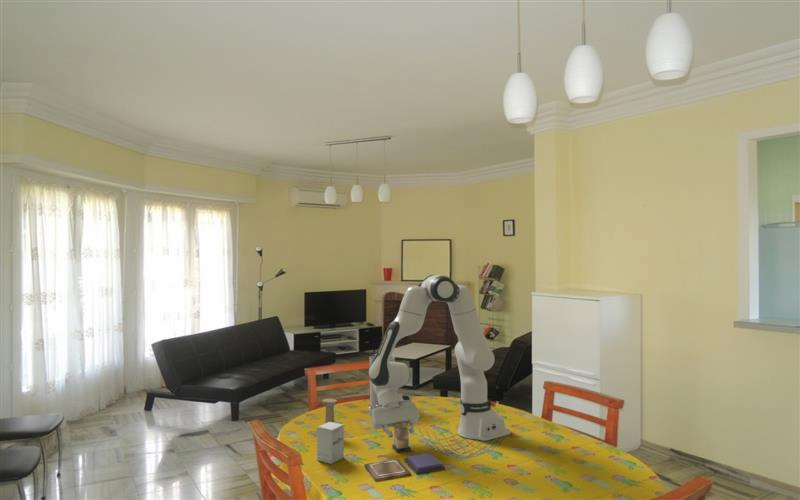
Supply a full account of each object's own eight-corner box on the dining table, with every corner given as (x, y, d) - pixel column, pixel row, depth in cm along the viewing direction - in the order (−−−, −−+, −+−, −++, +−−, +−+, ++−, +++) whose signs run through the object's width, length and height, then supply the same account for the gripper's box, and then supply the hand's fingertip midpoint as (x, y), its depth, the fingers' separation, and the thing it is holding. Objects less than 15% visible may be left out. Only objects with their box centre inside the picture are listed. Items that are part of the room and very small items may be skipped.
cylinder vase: (367, 411, 249) (367, 359, 249) (373, 403, 261) (372, 354, 262) (392, 412, 247) (392, 360, 247) (397, 404, 259) (396, 355, 259)
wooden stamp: (405, 446, 204) (405, 421, 204) (410, 451, 198) (410, 425, 198) (392, 448, 202) (392, 422, 202) (397, 453, 196) (396, 427, 196)
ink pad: (431, 456, 192) (431, 451, 192) (445, 469, 181) (445, 464, 181) (404, 461, 189) (404, 456, 189) (416, 474, 177) (416, 468, 177)
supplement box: (331, 464, 186) (331, 430, 186) (316, 460, 190) (316, 426, 190) (344, 457, 192) (344, 424, 193) (329, 453, 196) (329, 420, 196)
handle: (332, 439, 212) (331, 403, 212) (320, 436, 215) (320, 400, 215) (339, 435, 216) (339, 400, 216) (327, 432, 219) (327, 397, 219)
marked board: (398, 460, 189) (398, 458, 189) (411, 475, 177) (411, 472, 177) (364, 466, 184) (364, 463, 184) (375, 481, 172) (375, 478, 172)
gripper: (369, 402, 201) (380, 435, 193) (414, 395, 211) (426, 426, 202) (364, 411, 205) (375, 443, 197) (409, 403, 215) (421, 434, 206)
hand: (401, 434), depth 200 cm, fingers open, 8 cm apart
